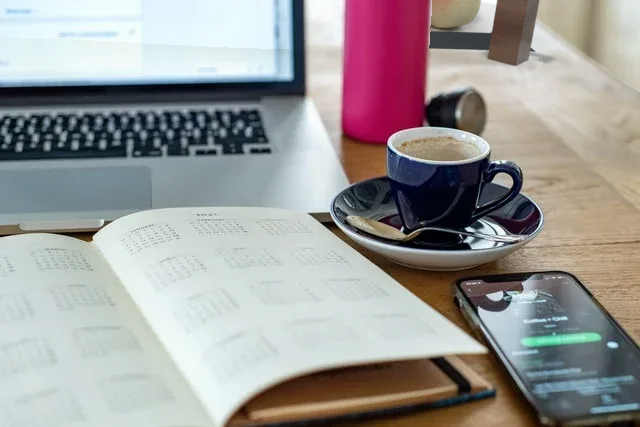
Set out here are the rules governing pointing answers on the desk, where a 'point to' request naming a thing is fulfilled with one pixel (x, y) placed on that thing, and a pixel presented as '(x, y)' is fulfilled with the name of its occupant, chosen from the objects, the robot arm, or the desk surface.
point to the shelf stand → (513, 31)
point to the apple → (453, 12)
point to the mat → (460, 40)
